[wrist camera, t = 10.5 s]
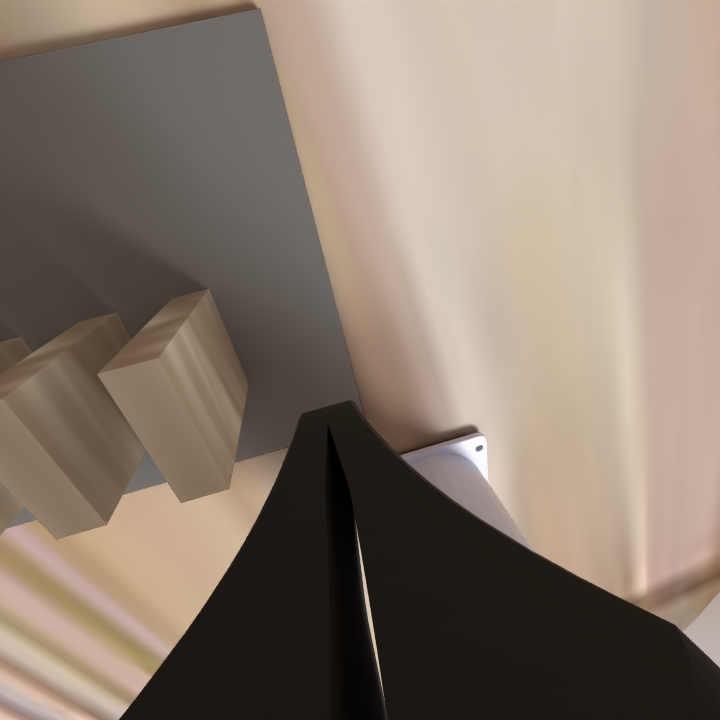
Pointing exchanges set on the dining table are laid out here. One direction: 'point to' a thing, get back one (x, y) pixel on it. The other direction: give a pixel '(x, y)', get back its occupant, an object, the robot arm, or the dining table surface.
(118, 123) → the rubber mat
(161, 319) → the domino
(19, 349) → the domino
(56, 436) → the domino
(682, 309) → the dining table surface
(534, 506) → the dining table surface
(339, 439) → the robot arm
